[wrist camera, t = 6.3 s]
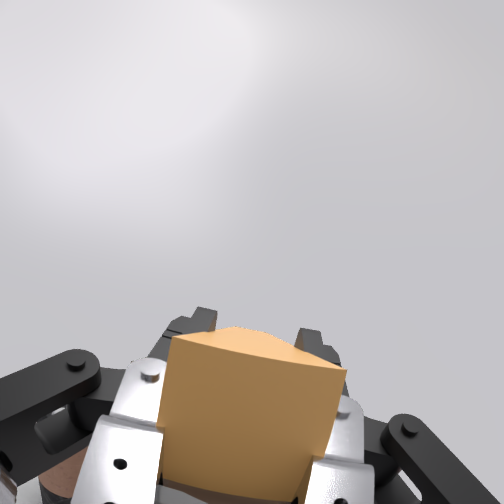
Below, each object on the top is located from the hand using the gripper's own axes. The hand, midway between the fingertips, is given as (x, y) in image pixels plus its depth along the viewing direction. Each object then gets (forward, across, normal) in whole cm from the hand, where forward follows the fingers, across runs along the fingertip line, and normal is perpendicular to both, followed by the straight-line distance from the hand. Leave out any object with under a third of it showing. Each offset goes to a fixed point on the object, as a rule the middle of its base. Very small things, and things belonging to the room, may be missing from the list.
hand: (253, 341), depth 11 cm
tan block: (+5, 0, +6) cm, 8 cm away
